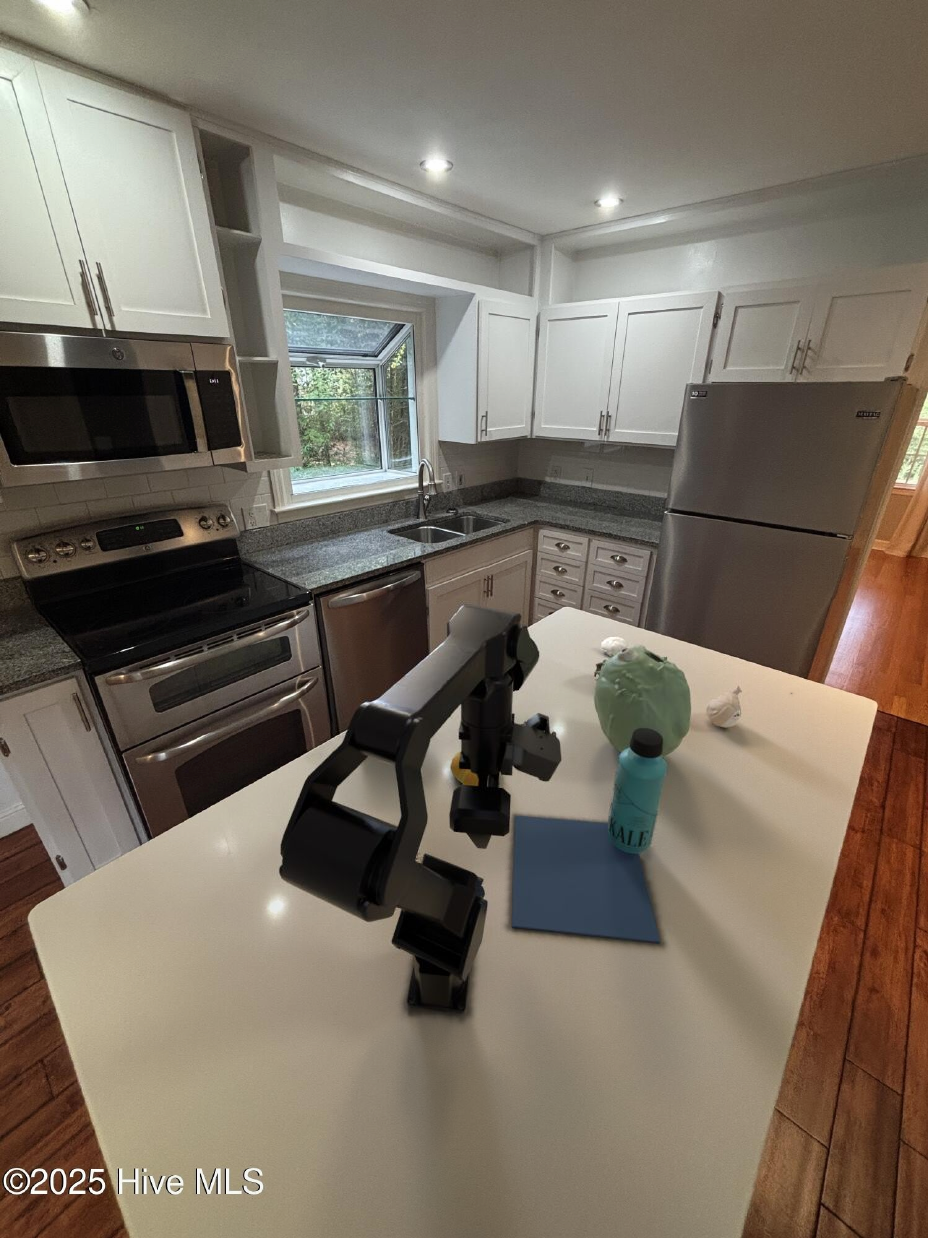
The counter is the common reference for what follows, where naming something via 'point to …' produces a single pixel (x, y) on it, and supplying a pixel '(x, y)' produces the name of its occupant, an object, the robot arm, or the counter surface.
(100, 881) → the counter surface
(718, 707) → the garlic bulb
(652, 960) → the counter surface
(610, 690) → the cabbage
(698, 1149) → the counter surface
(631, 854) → the cloth
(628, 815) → the beverage bottle
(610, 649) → the dumpling
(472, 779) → the bread roll
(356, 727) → the robot arm
